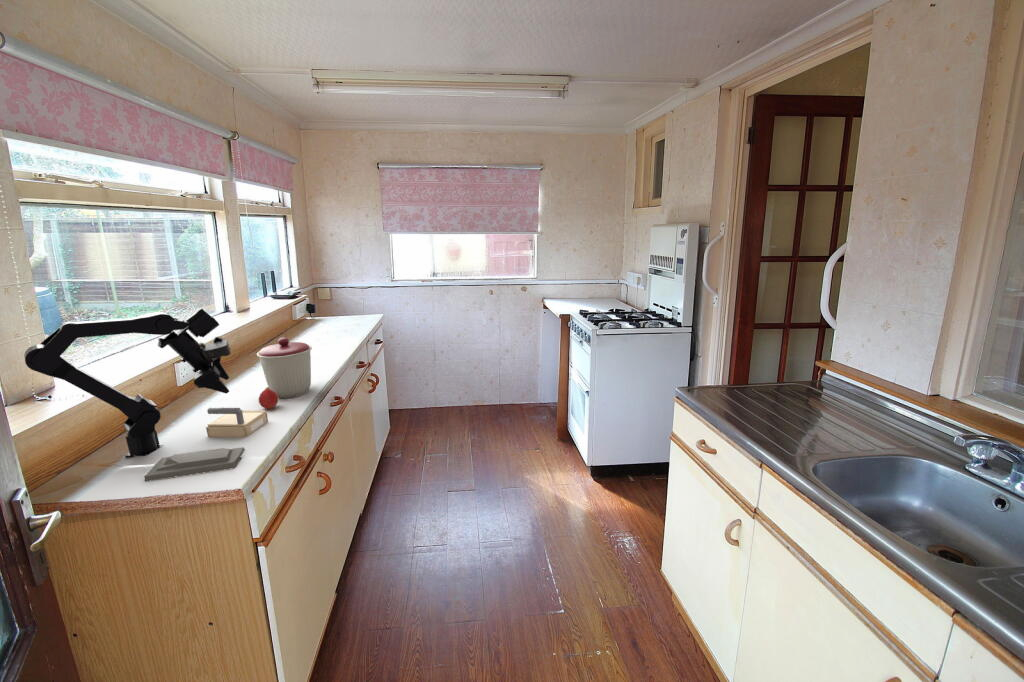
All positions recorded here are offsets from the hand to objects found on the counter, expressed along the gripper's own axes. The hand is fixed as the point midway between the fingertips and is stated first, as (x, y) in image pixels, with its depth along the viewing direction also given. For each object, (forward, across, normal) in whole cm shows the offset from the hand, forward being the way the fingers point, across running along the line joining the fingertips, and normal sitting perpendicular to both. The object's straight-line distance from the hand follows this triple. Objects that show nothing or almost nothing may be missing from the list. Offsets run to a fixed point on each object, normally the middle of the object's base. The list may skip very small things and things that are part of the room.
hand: (227, 385), depth 147 cm
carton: (+11, -7, +5) cm, 14 cm away
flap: (+8, -6, +3) cm, 11 cm away
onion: (+18, +7, -1) cm, 19 cm away
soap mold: (+4, -26, +12) cm, 29 cm away
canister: (+24, +20, -7) cm, 32 cm away
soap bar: (+10, -6, +6) cm, 13 cm away
